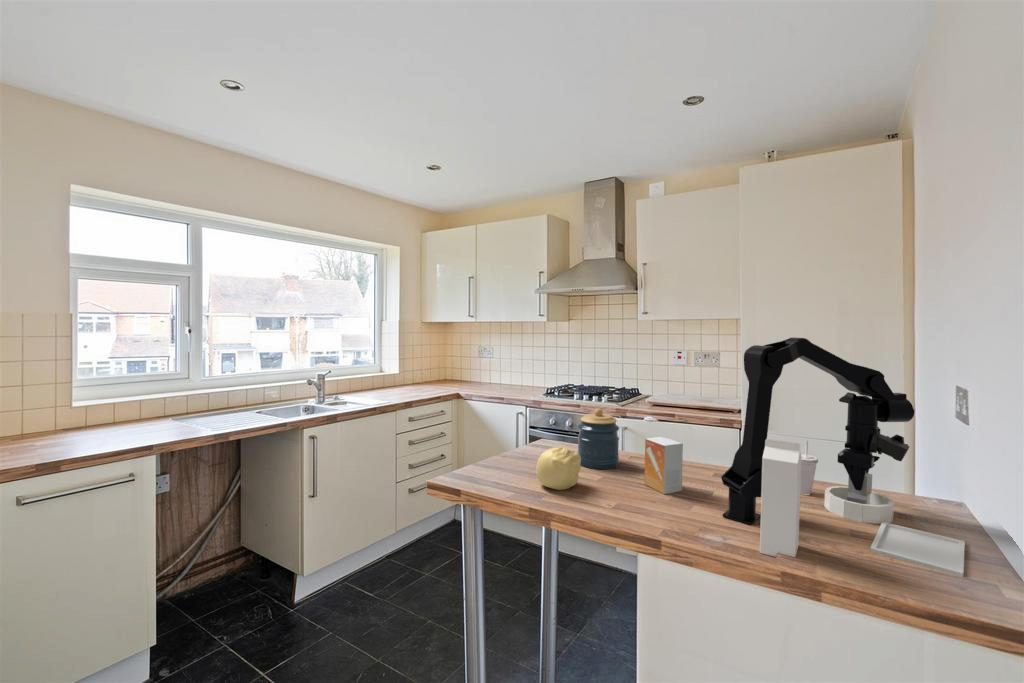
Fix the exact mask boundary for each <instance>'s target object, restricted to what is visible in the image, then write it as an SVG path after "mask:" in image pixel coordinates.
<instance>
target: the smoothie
mask: <svg viewBox="0 0 1024 683" xmlns="http://www.w3.org/2000/svg"><path fill="white" fill-rule="evenodd" d="M808 450H809V440H805V449H804V453H801V481H800V494H811V495H812V491H813V486H814V480H815V474H816V470H817V464H818V463H819V458H818V457H817V456H814V455H810V454H808V453H809V452H808Z"/></svg>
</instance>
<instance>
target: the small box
mask: <svg viewBox="0 0 1024 683" xmlns="http://www.w3.org/2000/svg"><path fill="white" fill-rule="evenodd" d="M644 440H645V441H644V443H645V444H644V448H645V449H644V476H643V477H644V481H643V483H644V485H645V486H647V487H650V488H651V489H654V490H655V491H657V492H659V493H661V494H663V495H666V494H673V493H678V492H682V491H683V454H684V453H683V452H684V451H683V450H684V445H683V443H682V442H679V441H677V440H674V439H671V438H668V437H664V436H656V437H654V436H653V437H647V438H645V439H644Z"/></svg>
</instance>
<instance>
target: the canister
mask: <svg viewBox="0 0 1024 683" xmlns="http://www.w3.org/2000/svg"><path fill="white" fill-rule="evenodd" d="M617 421H618V420H617V418H615V417H613V416H612V415H611V414H608V413H607V414H606V413H604V410H602V409H601V408H600V407H599V408H596V409H595V410H594V411H593V413H587V414H585V415H584V416H582V417H580V422H581V423H579V424H578V425H577V428H578V430H579V434H578V435H577V453H578V454H579V455H580V457H581V462H580V465H581V466H582V467H585V468H589V469H594V470H595V469H596V470H609V469H614V468H615V467H616V468H617V467H618V464H619V459H620V457H619V445H620V444H619V440H620V437H619V435H618V431H620V426H619V425H618V424H617Z"/></svg>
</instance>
